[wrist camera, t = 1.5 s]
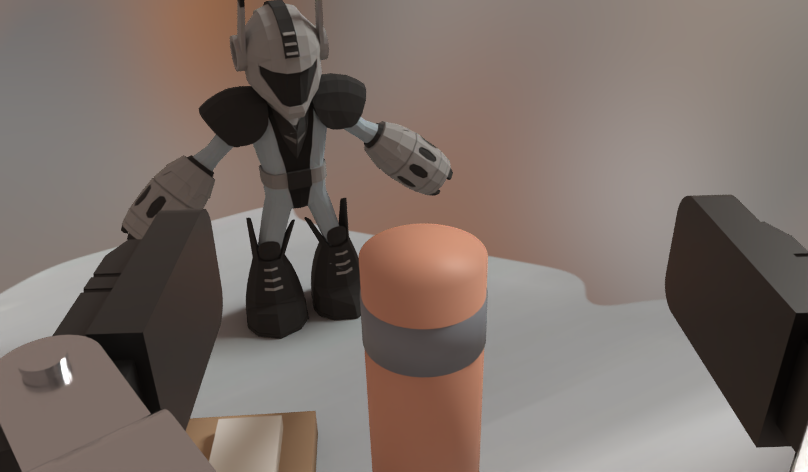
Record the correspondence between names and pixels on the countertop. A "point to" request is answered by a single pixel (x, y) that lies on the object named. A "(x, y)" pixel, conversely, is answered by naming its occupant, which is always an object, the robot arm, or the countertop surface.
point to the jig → (258, 442)
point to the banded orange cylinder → (424, 346)
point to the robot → (290, 164)
